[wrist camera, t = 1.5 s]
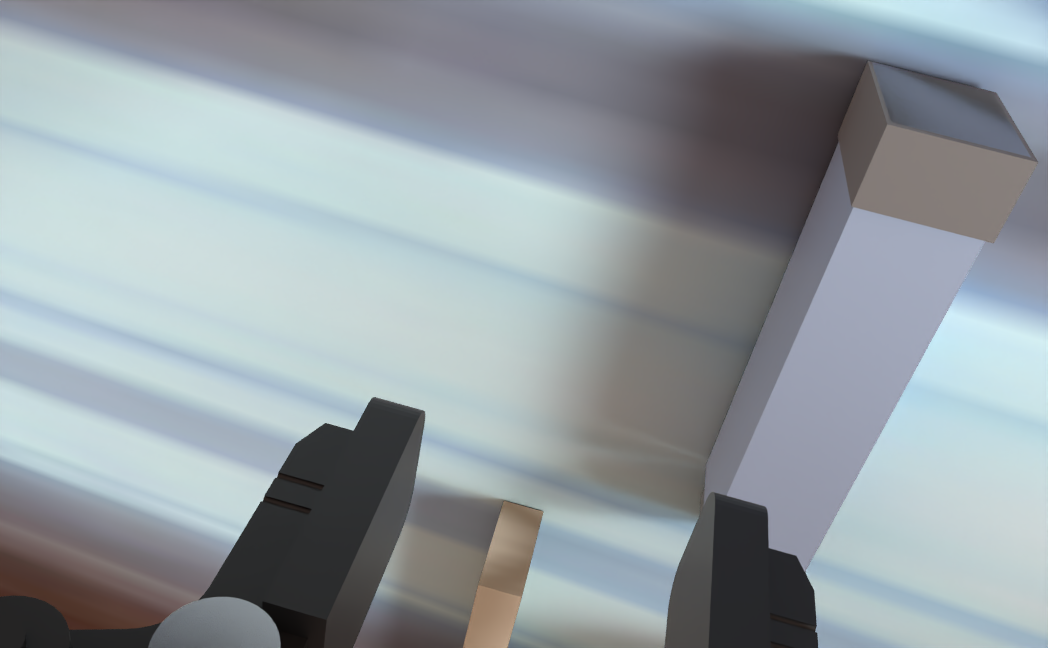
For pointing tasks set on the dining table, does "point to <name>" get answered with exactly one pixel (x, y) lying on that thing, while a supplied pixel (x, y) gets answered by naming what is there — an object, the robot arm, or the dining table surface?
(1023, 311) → the dining table surface
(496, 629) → the seat frame
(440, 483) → the dining table surface
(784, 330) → the leg
